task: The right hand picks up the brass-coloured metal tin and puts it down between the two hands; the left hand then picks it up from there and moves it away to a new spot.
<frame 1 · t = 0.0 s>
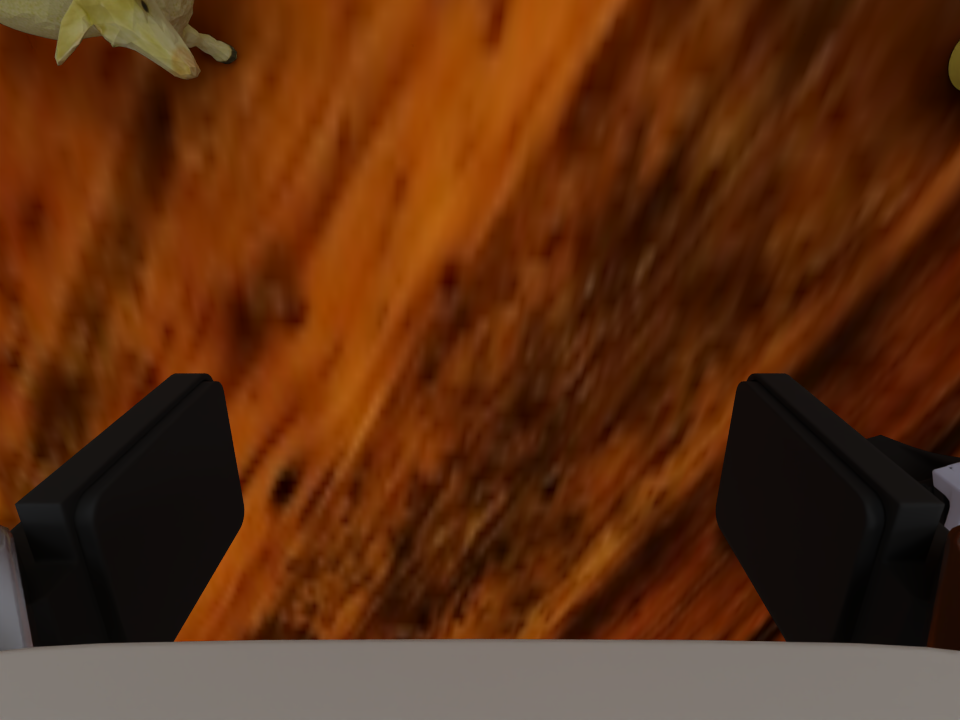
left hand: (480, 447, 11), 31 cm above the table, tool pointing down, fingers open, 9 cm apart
toy: (142, 3, 35), on the table
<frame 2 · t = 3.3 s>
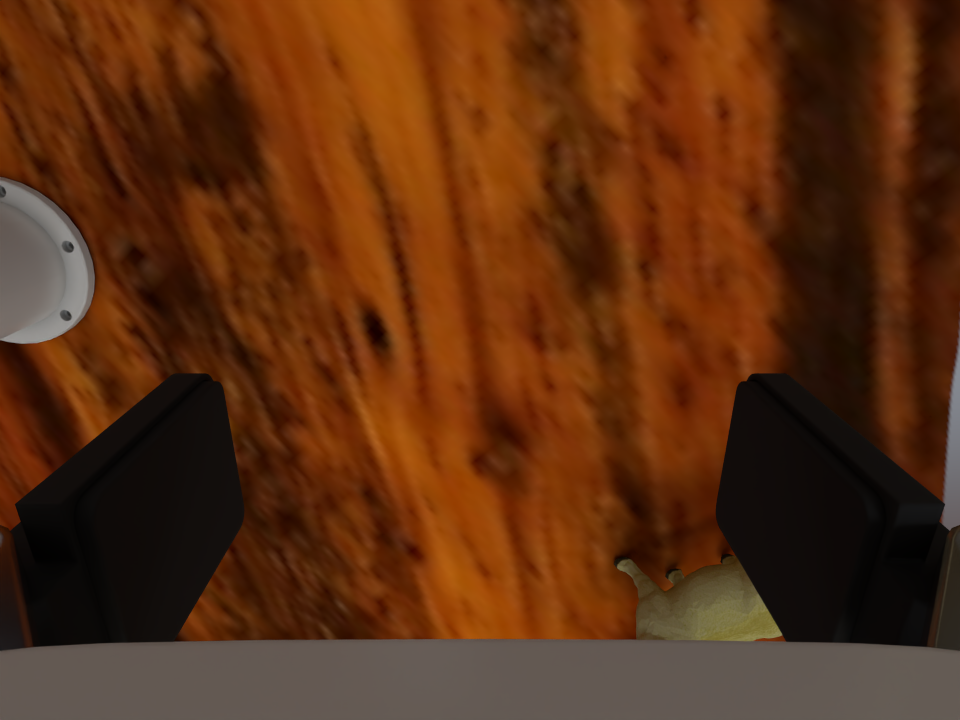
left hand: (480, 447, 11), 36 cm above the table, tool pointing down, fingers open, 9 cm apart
toy: (676, 549, 56), on the table
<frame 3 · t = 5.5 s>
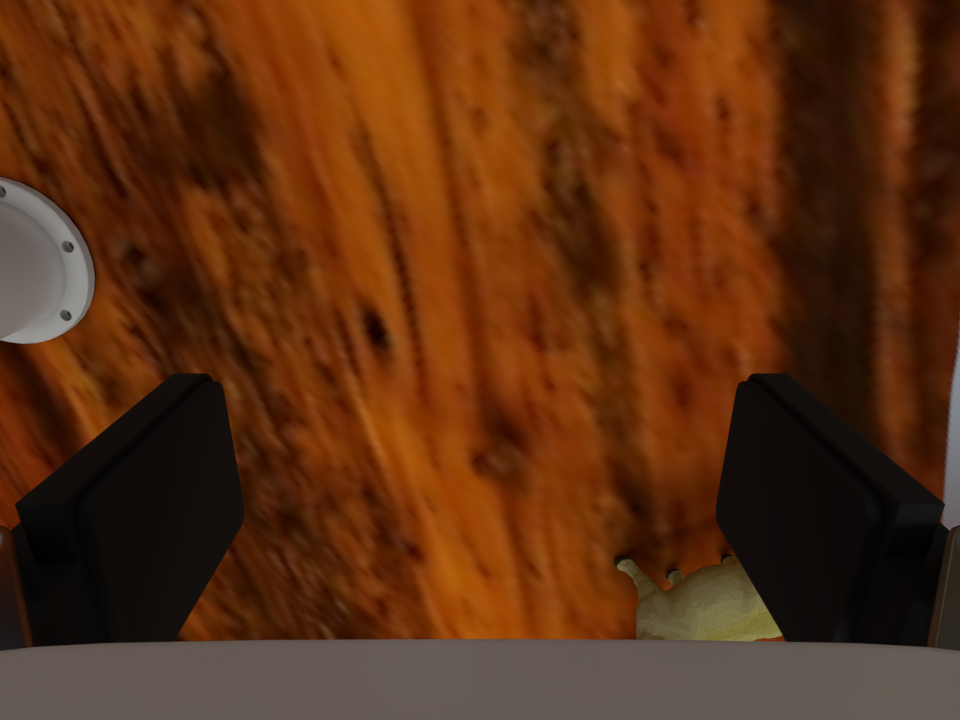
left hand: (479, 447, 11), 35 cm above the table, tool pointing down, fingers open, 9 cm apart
toy: (676, 549, 56), on the table
when the right hand's fingers open (2 cm above the table, at t = 7.8 s): tin stays where it is, on the table.
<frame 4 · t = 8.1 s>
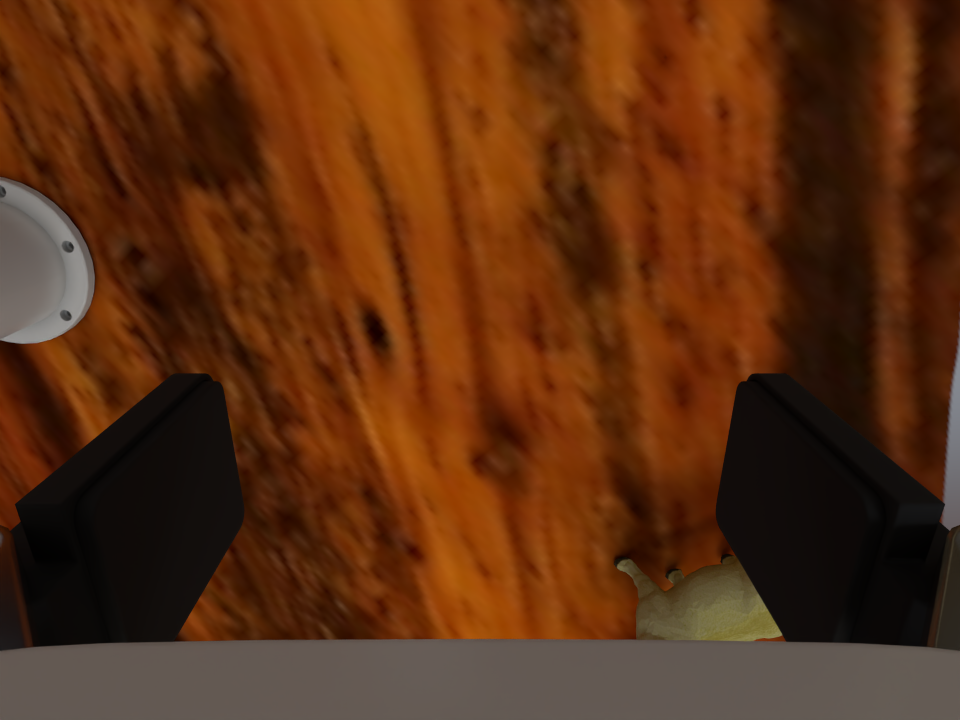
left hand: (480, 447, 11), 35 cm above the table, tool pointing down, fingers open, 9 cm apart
toy: (676, 549, 56), on the table
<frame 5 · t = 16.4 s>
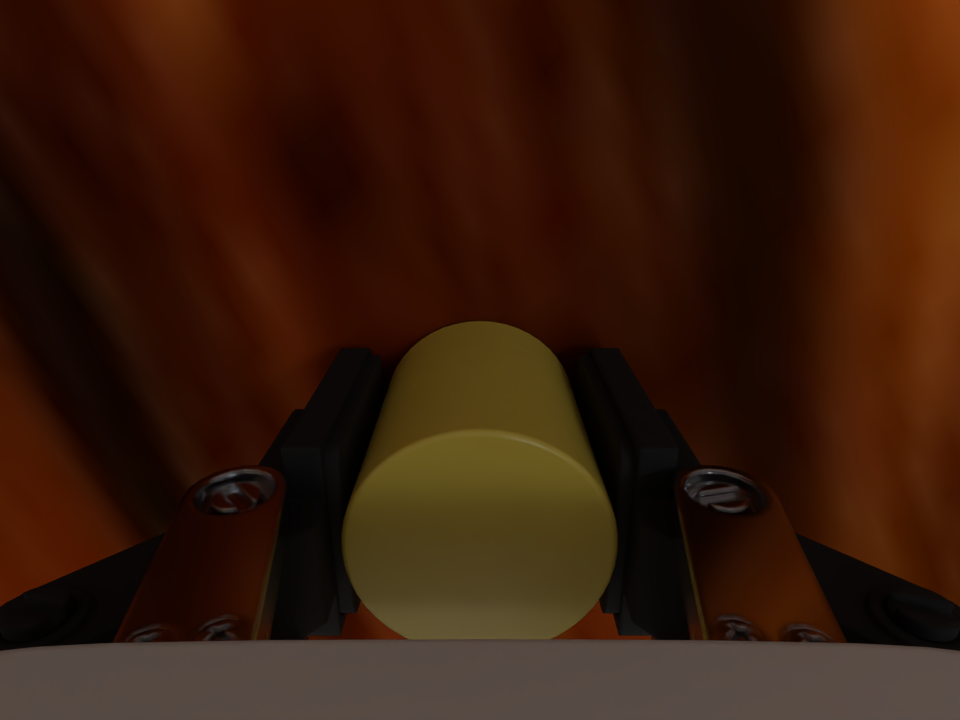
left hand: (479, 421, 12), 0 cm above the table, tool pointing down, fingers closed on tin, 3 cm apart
tin: (479, 407, 12), on the table, touching left hand
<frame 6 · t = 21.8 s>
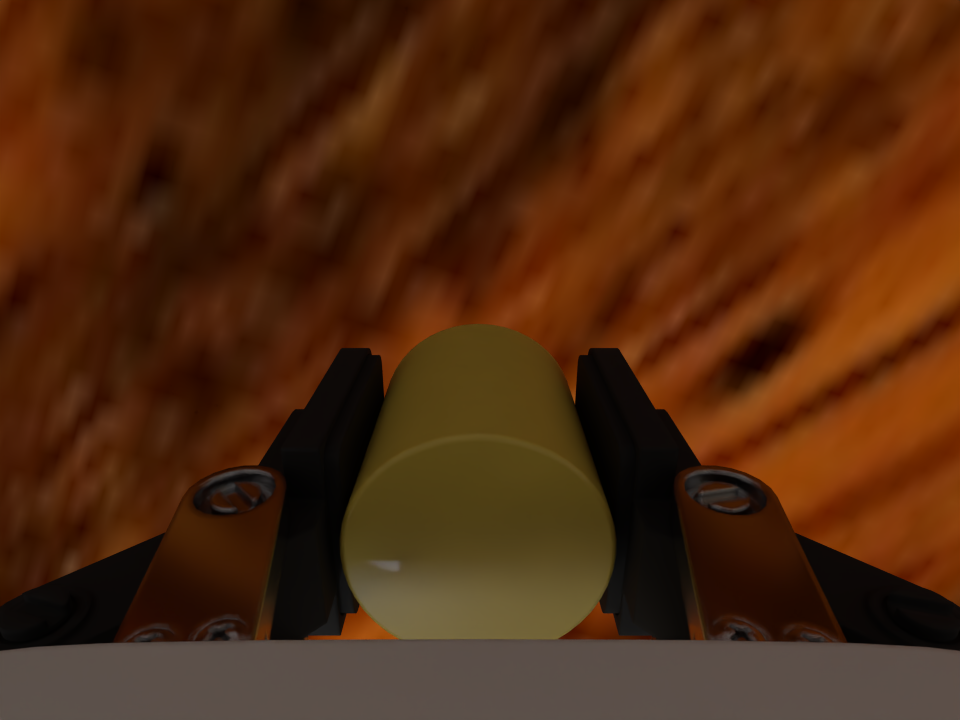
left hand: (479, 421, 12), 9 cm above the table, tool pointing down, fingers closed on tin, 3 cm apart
tin: (478, 410, 12), point 9 cm above the table, touching left hand
when the left hand's fingers open (1 cm above the table, at t = 27.0 s): tin stays where it is, on the table.
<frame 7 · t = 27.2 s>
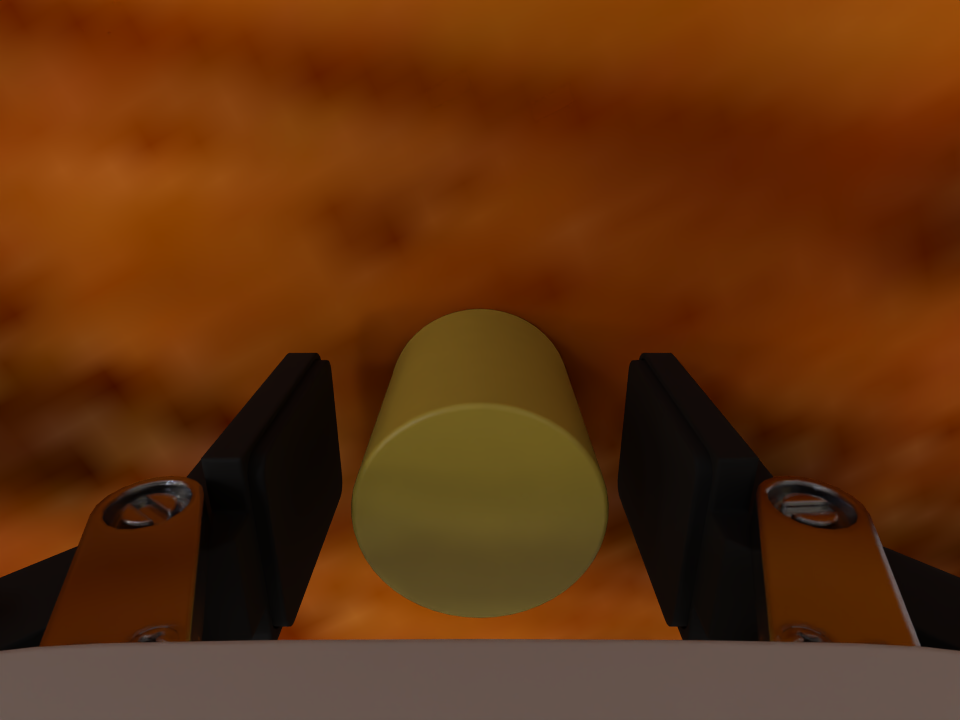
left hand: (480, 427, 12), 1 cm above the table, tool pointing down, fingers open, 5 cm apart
tin: (479, 392, 13), on the table
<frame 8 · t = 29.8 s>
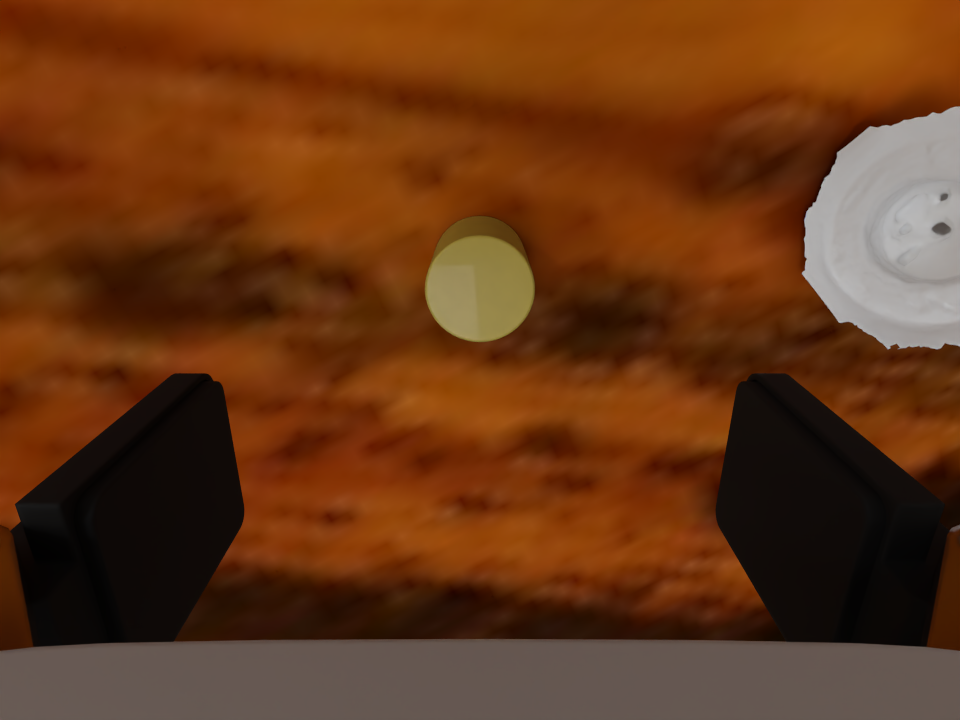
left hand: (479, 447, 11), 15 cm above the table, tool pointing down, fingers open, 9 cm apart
tin: (479, 262, 25), on the table
seashell: (872, 221, 24), on the table
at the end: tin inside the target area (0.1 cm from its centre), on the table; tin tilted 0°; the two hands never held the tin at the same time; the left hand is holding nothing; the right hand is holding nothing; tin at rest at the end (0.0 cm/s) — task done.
